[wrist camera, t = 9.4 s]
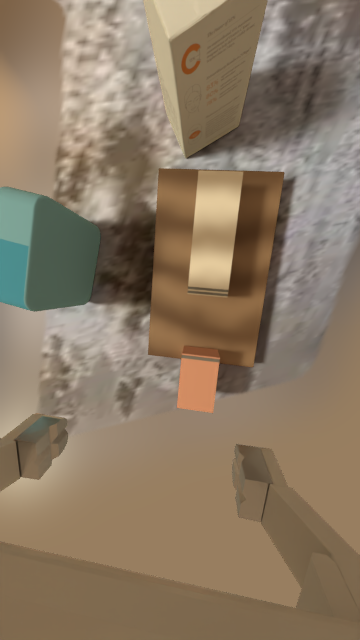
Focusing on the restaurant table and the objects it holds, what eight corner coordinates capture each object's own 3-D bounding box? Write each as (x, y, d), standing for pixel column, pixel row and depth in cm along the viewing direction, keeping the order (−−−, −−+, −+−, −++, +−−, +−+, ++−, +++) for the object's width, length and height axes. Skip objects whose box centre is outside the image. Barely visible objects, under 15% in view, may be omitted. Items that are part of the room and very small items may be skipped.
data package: (75, 222, 30) (-7, 178, 18) (102, 229, 29) (37, 189, 18) (65, 297, 32) (-15, 302, 20) (90, 304, 31) (24, 313, 20)
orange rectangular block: (184, 345, 29) (181, 353, 25) (217, 349, 28) (219, 358, 25) (179, 394, 30) (176, 408, 26) (211, 398, 30) (212, 413, 26)
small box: (220, 78, 25) (242, -151, 12) (239, 127, 25) (280, -39, 12) (165, 114, 26) (130, -56, 13) (184, 160, 27) (169, 41, 14)
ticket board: (161, 177, 27) (152, 148, 22) (278, 181, 26) (299, 151, 20) (151, 350, 32) (140, 363, 26) (249, 362, 30) (260, 378, 25)
